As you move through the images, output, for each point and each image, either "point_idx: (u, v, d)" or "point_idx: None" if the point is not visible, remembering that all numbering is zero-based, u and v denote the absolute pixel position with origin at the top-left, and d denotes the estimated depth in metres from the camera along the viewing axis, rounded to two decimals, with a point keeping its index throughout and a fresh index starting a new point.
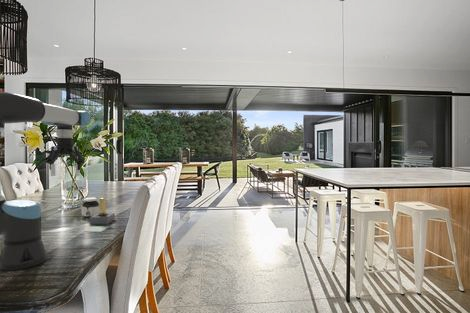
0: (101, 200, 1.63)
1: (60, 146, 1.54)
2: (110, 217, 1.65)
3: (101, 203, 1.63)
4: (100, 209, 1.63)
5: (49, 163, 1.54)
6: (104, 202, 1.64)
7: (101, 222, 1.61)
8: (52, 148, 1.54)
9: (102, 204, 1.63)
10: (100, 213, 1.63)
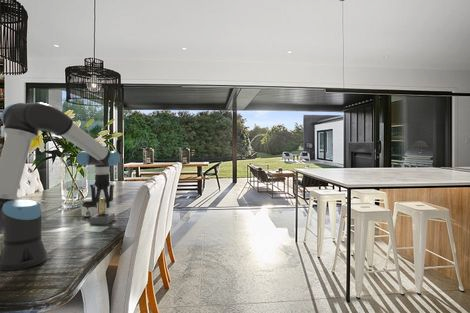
0: (101, 200, 1.63)
1: (97, 181, 1.64)
2: (110, 217, 1.65)
3: (101, 203, 1.63)
4: (100, 209, 1.63)
5: (95, 202, 1.64)
6: (104, 202, 1.64)
7: (101, 222, 1.61)
8: (91, 186, 1.64)
9: (102, 204, 1.63)
10: (100, 213, 1.63)
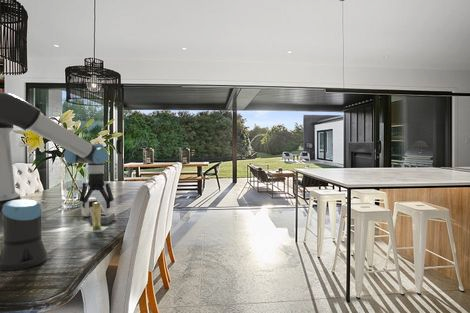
0: (95, 205, 1.48)
1: (91, 181, 1.49)
2: (110, 217, 1.65)
3: (95, 209, 1.48)
4: (94, 215, 1.48)
5: (83, 201, 1.49)
6: (98, 207, 1.49)
7: (101, 222, 1.61)
8: (83, 185, 1.48)
9: (96, 209, 1.48)
10: (94, 219, 1.48)
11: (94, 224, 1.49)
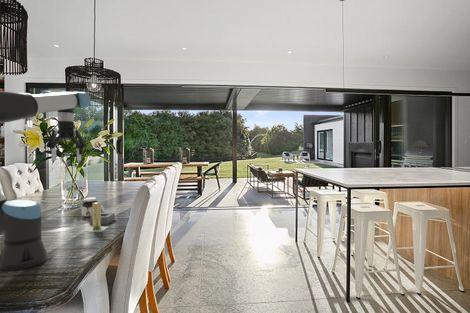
0: (95, 205, 1.48)
1: (61, 130, 1.50)
2: (110, 217, 1.65)
3: (95, 209, 1.48)
4: (94, 215, 1.48)
5: (50, 147, 1.50)
6: (98, 207, 1.49)
7: (101, 222, 1.61)
8: (53, 132, 1.49)
9: (96, 209, 1.48)
10: (94, 219, 1.48)
11: (94, 224, 1.49)
